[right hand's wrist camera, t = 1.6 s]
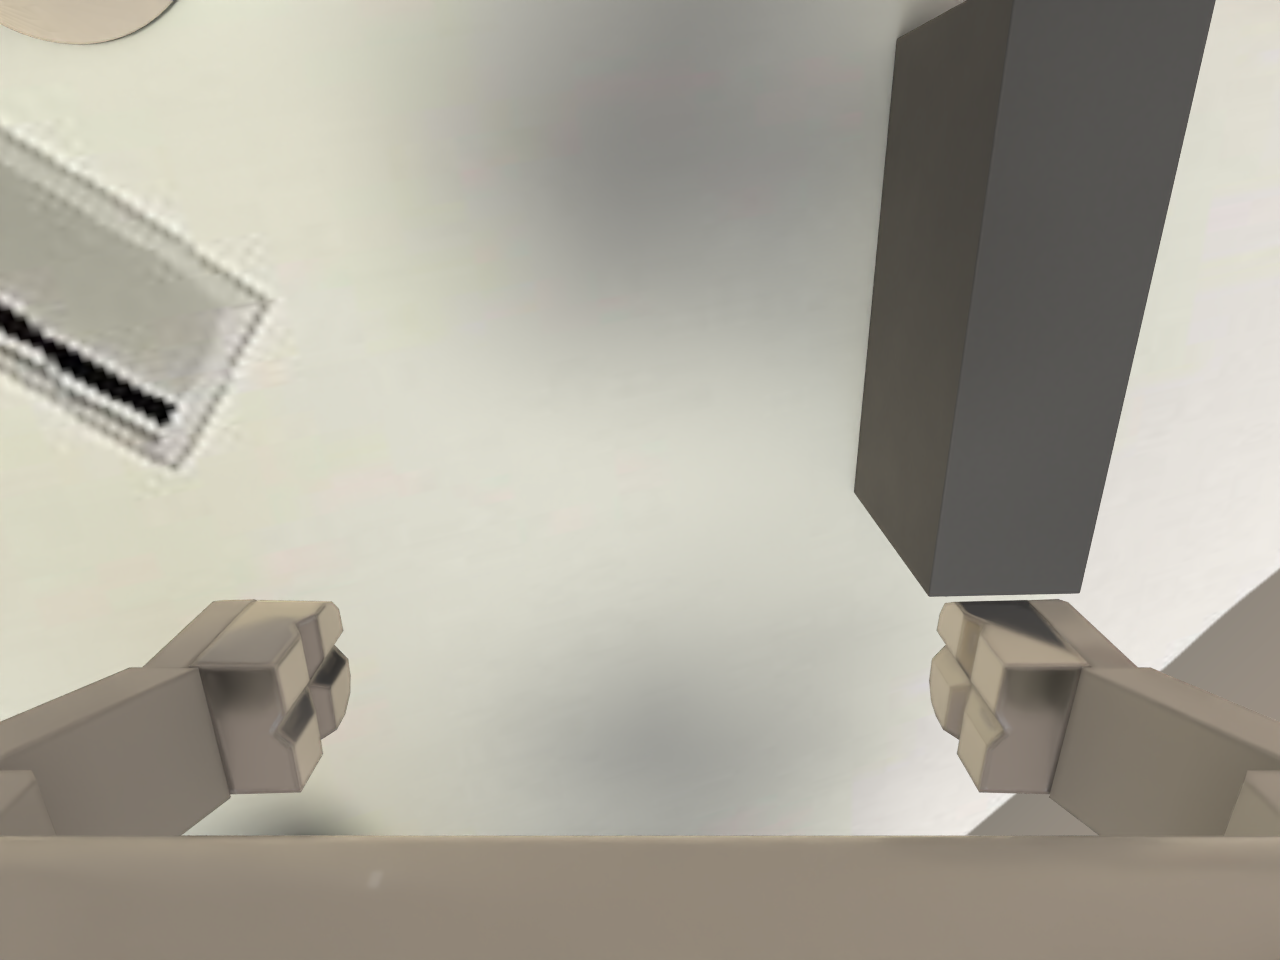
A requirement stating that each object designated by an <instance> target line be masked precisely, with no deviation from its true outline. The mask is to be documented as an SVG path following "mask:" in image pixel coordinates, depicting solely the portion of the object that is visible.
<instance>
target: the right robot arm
mask: <svg viewBox="0 0 1280 960" xmlns="http://www.w3.org/2000/svg"><path fill="white" fill-rule="evenodd" d="M173 1H174V0H0V24H2V25H4V26H6V27H8V28H10V29H12V30H15V31H17V32H19V33H22V34H25V35H28V36H31V37H34V38H38V39H42V40H46V41H51V42H56V43H65V44H94V43H100V42H106V41H110V40H114V39H118V38H120V37H123V36H126V35H128V34H131V33H133V32H135V31H137V30H139V29H140V28H142V27H144V26H146V25H147V24H148V23H150V22H151V21H153V20H154V19H155V18H156V17H158V16H159V15H160V14H161V13H162V12H163V11H164V10H165V9H166V8H167V7H168V6H169V5H170V4H171V3H172V2H173ZM342 632H343V626H342V622H341V617H340V612H339V609H338V607H337V606H336V605H335V604H334V603H333V602H332V601H282V600H259V601H257V600H255V599H248V600H221V601H213V602H212V603H211V604H210V605H209V606H208V607H207V608H206V609H204V610H203V611H202V612H201V613H200V614H199V615H198V616H197V617H196V618H195V619H194V620H193V621H192V622H191V623H189V624H188V625H187V626H186V627H185V628H184V629H183V630H182V631H181V632H180V633H179V634H178V635H177V636H175V637H174V638H173V639H172V640H171V641H170V642H169V643H168V644H167V645H166V646H165V647H164V648H163V649H162V650H160V651H159V652H158V653H157V654H156V655H155V656H154V657H153V658H152V659H151V660H150V661H149V662H148V663H147V664H145V665H144V666H143V667H142V668H127V669H125V670H123V671H120V672H118V673H116V674H113V675H111V676H108V677H106V678H104V679H101V680H99V681H96V682H94V683H92V684H89V685H87V686H85V687H82V688H80V689H77V690H75V691H73V692H70V693H68V694H65V695H63V696H61V697H58V698H56V699H53V700H51V701H49V702H46V703H44V704H42V705H39V706H37V707H34V708H32V709H30V710H27V711H25V712H22V713H20V714H18V715H15V716H13V717H11V718H8V719H6V720H3V721H1V722H0V960H1280V722H1279V721H1276V720H1274V719H1271V718H1269V717H1267V716H1264V715H1262V714H1260V713H1257V712H1255V711H1252V710H1250V709H1248V708H1245V707H1243V706H1241V705H1238V704H1236V703H1233V702H1231V701H1229V700H1226V699H1224V698H1222V697H1219V696H1217V695H1214V694H1212V693H1210V692H1207V691H1205V690H1202V689H1200V688H1198V687H1195V686H1193V685H1191V684H1188V683H1186V682H1184V681H1181V680H1179V679H1176V678H1174V677H1172V676H1169V675H1167V674H1164V673H1162V672H1160V671H1157V670H1155V669H1153V668H1138V667H1137V666H1136V665H1135V664H1134V663H1132V662H1131V661H1130V660H1129V659H1128V658H1127V657H1126V656H1125V655H1124V654H1123V653H1122V652H1121V651H1120V650H1119V649H1118V648H1116V647H1115V646H1114V645H1113V644H1112V643H1111V642H1110V641H1109V640H1108V639H1107V638H1106V637H1105V636H1104V635H1103V634H1101V633H1100V632H1099V631H1098V630H1097V629H1096V628H1095V627H1094V626H1093V625H1092V624H1091V623H1090V622H1089V621H1088V620H1087V619H1085V618H1084V617H1083V616H1082V615H1081V614H1080V613H1079V612H1078V611H1077V610H1076V609H1075V608H1074V607H1073V606H1072V605H1070V604H1069V603H1068V602H1065V601H1062V600H1059V599H1049V600H1014V601H973V602H950V603H945V604H944V606H943V608H942V610H941V612H940V615H939V620H938V626H937V632H938V633H939V635H940V636H941V638H942V640H943V641H944V643H945V644H946V645H945V646H944V647H943V648H942V649H941V650H940V651H939V652H938V653H937V654H936V655H935V656H934V657H933V659H932V662H931V670H930V678H929V684H930V695H931V702H932V706H933V709H934V712H935V715H936V717H937V719H938V721H939V723H940V725H941V726H942V728H943V730H945V731H946V732H948V733H949V734H951V735H953V736H954V737H956V738H957V739H959V745H958V751H957V755H958V756H959V758H960V760H961V762H962V763H963V765H964V767H965V768H966V770H967V772H968V774H969V775H970V777H971V779H972V781H973V782H974V784H975V786H976V787H977V789H978V791H979V792H987V793H1024V794H1050V796H1049V798H1051V799H1052V800H1053V801H1055V802H1056V803H1057V804H1059V805H1060V806H1061V807H1063V808H1064V809H1065V810H1067V811H1068V812H1069V813H1070V814H1072V815H1073V816H1074V817H1076V818H1077V819H1078V820H1080V821H1081V822H1082V823H1084V824H1085V825H1086V826H1088V827H1089V828H1090V829H1091V830H1093V831H1094V832H1095V833H1097V834H1098V835H1099V836H181V835H182V834H184V833H185V832H186V831H187V830H189V829H190V828H191V827H193V826H194V825H195V824H197V823H198V822H199V821H201V820H202V819H203V818H205V817H206V816H207V815H209V814H210V813H211V812H212V811H214V810H215V809H216V808H218V807H219V806H220V805H222V804H223V803H224V802H226V801H227V800H228V799H230V797H231V796H230V794H255V793H291V792H301V791H302V789H303V788H304V786H305V784H306V782H307V781H308V779H309V777H310V776H311V774H312V772H313V770H314V769H315V767H316V765H317V763H318V762H319V760H320V758H321V756H322V755H323V750H322V745H321V739H323V738H324V737H326V736H327V735H329V734H331V733H332V732H334V731H335V730H337V728H338V726H339V725H340V723H341V721H342V719H343V717H344V715H345V713H346V709H347V704H348V700H349V696H350V677H351V675H350V668H349V662H348V659H347V657H346V656H345V655H344V654H343V653H342V652H341V651H340V650H339V649H338V648H337V647H336V646H335V645H334V644H335V643H336V641H337V640H338V638H339V637H340V635H341V633H342Z"/></svg>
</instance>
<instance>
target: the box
mask: <svg viewBox="0 0 1280 960" xmlns="http://www.w3.org/2000/svg"><path fill="white" fill-rule="evenodd" d="M1214 5H1215V0H967V1H965V2H963V3H961V4H959V5H958V6H956V7H954V8H952V9H950V10H949V11H947V12H945V13H943V14H941V15H940V16H938V17H936V18H934V19H932V20H930V21H929V22H927V23H925V24H923V25H921V26H920V27H918V28H916V29H914V30H912V31H911V32H909V33H907V34H905V35H903V36H902V37H900V38H898V39H897V46H896V56H895V67H894V77H893V88H892V99H891V109H890V120H889V130H888V141H887V152H886V162H885V173H884V184H883V194H882V205H881V215H880V226H879V237H878V247H877V258H876V268H875V279H874V290H873V300H872V311H871V322H870V332H869V343H868V353H867V364H866V375H865V385H864V396H863V406H862V417H861V428H860V438H859V449H858V460H857V470H856V481H855V491H854V492H855V494H856V496H857V497H858V498H859V500H860V501H861V503H862V504H863V505H864V507H865V508H866V510H867V511H868V512H869V514H870V515H871V517H872V518H873V519H874V521H875V522H876V524H877V525H878V526H879V528H880V529H881V530H882V532H883V533H884V535H885V536H886V537H887V539H888V540H889V542H890V543H891V544H892V546H893V547H894V549H895V550H896V551H897V553H898V554H899V556H900V557H901V558H902V560H903V561H904V563H905V564H906V565H907V567H908V568H909V569H910V571H911V572H912V574H913V575H914V576H915V578H916V579H917V581H918V582H919V583H920V585H921V586H922V588H923V589H924V590H925V592H926V593H927V595H928V596H930V597H935V596H981V595H1026V594H1071V593H1080V590H1081V585H1082V581H1083V577H1084V572H1085V568H1086V564H1087V559H1088V555H1089V551H1090V546H1091V542H1092V537H1093V533H1094V529H1095V524H1096V520H1097V516H1098V511H1099V507H1100V503H1101V498H1102V494H1103V489H1104V485H1105V481H1106V476H1107V472H1108V468H1109V463H1110V459H1111V454H1112V450H1113V446H1114V441H1115V437H1116V433H1117V428H1118V424H1119V420H1120V415H1121V411H1122V406H1123V402H1124V398H1125V393H1126V389H1127V385H1128V380H1129V376H1130V372H1131V367H1132V363H1133V358H1134V354H1135V350H1136V345H1137V341H1138V337H1139V332H1140V328H1141V324H1142V319H1143V315H1144V310H1145V306H1146V302H1147V297H1148V293H1149V289H1150V284H1151V280H1152V276H1153V271H1154V267H1155V262H1156V258H1157V254H1158V249H1159V245H1160V241H1161V236H1162V232H1163V227H1164V223H1165V219H1166V214H1167V210H1168V206H1169V201H1170V197H1171V193H1172V188H1173V184H1174V179H1175V175H1176V171H1177V166H1178V162H1179V158H1180V153H1181V149H1182V145H1183V140H1184V136H1185V131H1186V127H1187V123H1188V118H1189V114H1190V110H1191V105H1192V101H1193V97H1194V92H1195V88H1196V83H1197V79H1198V75H1199V70H1200V66H1201V62H1202V57H1203V53H1204V49H1205V44H1206V40H1207V35H1208V31H1209V27H1210V22H1211V18H1212V14H1213V9H1214Z"/></svg>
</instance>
